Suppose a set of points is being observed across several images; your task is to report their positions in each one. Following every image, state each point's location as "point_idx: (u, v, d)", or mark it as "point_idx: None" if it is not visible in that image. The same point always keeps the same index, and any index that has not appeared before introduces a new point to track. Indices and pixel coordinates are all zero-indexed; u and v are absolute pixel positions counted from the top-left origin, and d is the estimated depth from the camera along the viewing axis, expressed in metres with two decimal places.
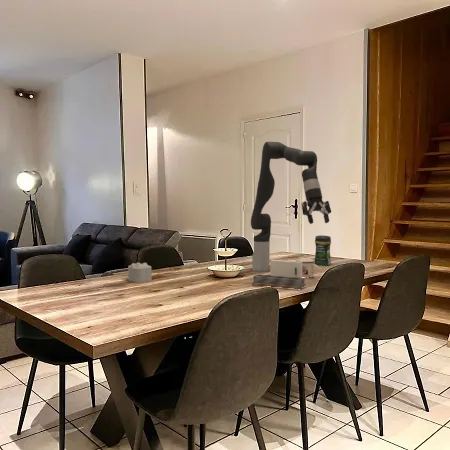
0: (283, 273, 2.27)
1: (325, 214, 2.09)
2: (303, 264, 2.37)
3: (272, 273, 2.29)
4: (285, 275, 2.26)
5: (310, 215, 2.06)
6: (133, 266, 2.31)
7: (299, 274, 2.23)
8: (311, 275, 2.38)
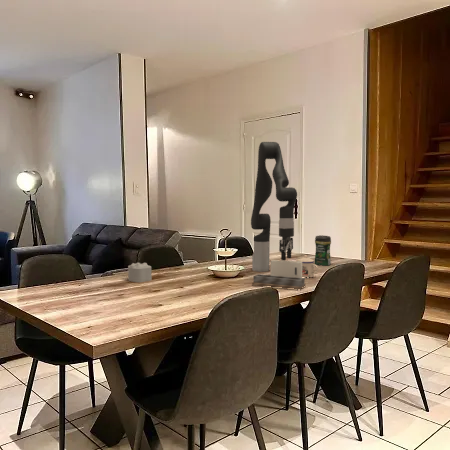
0: (283, 273, 2.27)
1: (289, 250, 2.30)
2: (303, 264, 2.37)
3: (272, 273, 2.29)
4: (285, 275, 2.26)
5: (284, 253, 2.22)
6: (133, 266, 2.31)
7: (299, 274, 2.23)
8: (311, 275, 2.38)
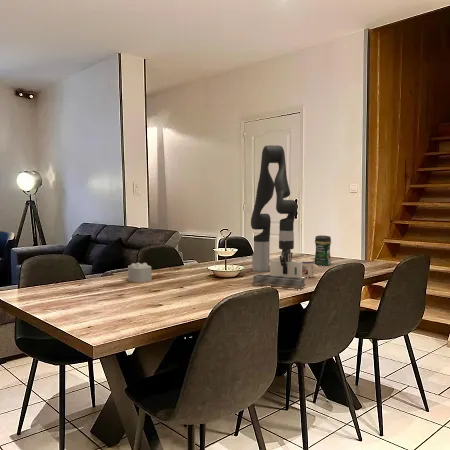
0: None
1: None
2: (303, 264, 2.37)
3: (272, 273, 2.29)
4: (285, 275, 2.26)
5: (286, 267, 2.25)
6: (133, 266, 2.31)
7: (299, 274, 2.23)
8: (311, 275, 2.38)
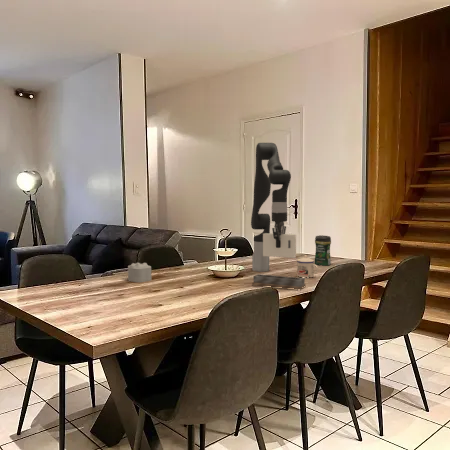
0: None
1: None
2: (303, 264, 2.37)
3: (265, 247, 2.18)
4: (278, 249, 2.15)
5: (279, 240, 2.14)
6: (133, 266, 2.31)
7: (293, 247, 2.12)
8: (311, 275, 2.38)
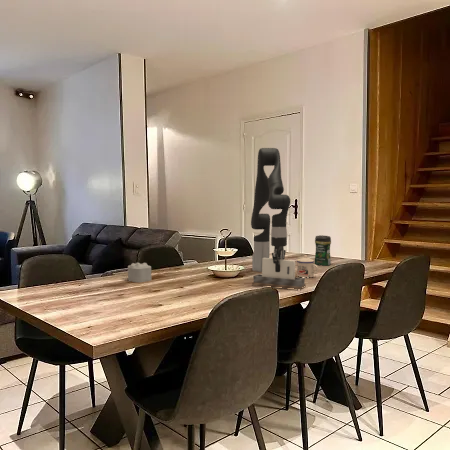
0: (275, 272, 2.17)
1: None
2: (303, 264, 2.37)
3: (264, 272, 2.19)
4: (277, 274, 2.16)
5: None
6: (133, 266, 2.31)
7: (292, 273, 2.13)
8: (311, 275, 2.38)
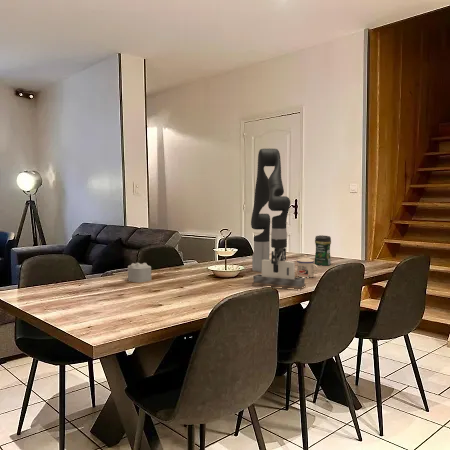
0: (275, 273, 2.17)
1: None
2: (303, 264, 2.37)
3: (263, 274, 2.19)
4: (277, 275, 2.16)
5: None
6: (133, 266, 2.31)
7: (291, 274, 2.13)
8: (311, 275, 2.38)
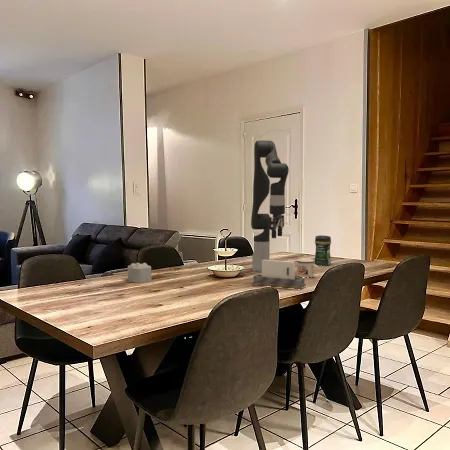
0: (275, 273, 2.17)
1: (280, 228, 2.24)
2: (303, 264, 2.37)
3: (263, 274, 2.19)
4: (277, 275, 2.16)
5: (275, 231, 2.16)
6: (133, 266, 2.31)
7: (291, 274, 2.13)
8: (311, 275, 2.38)
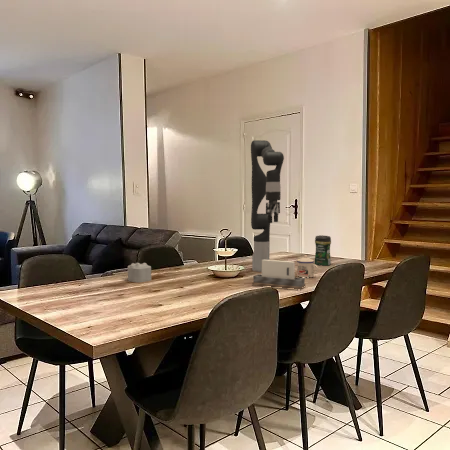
0: (275, 273, 2.17)
1: (276, 214, 2.34)
2: (303, 264, 2.37)
3: (263, 274, 2.19)
4: (277, 275, 2.16)
5: (271, 216, 2.26)
6: (133, 266, 2.31)
7: (291, 274, 2.13)
8: (311, 275, 2.38)
